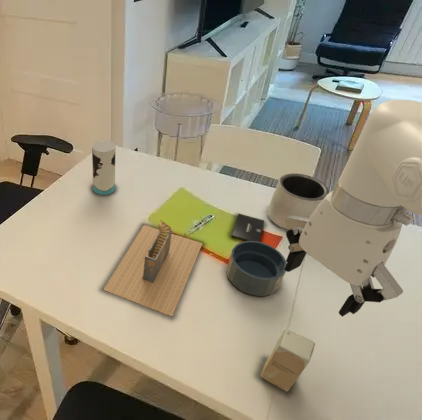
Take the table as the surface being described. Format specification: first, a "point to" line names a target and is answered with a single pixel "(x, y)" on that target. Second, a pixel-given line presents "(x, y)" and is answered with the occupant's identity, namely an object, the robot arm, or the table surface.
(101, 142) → the white patterned canister
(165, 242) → the architectural model on board
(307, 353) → the box
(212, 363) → the table surface
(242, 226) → the solid state drive
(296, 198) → the planter
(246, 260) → the round storage tub
